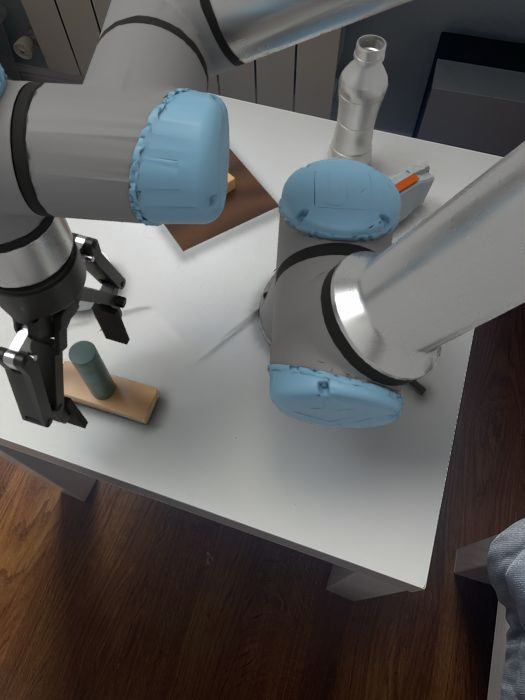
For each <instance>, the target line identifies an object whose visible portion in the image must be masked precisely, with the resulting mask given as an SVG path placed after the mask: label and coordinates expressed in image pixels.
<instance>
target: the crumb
mask: <svg viewBox="0 0 525 700" xmlns="http://www.w3.org/2000/svg"><path fill="white" fill-rule="evenodd" d="M233 189H235V178H234V177H233V176H232V175H231V174H229V173H228V184H227V193H229V192H230V191H232V190H233Z"/></svg>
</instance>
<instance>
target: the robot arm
mask: <svg viewBox="0 0 525 700" xmlns="http://www.w3.org/2000/svg"><path fill="white" fill-rule="evenodd" d="M412 1H413V0H110V4H109V6H108V9H107V12H106V16H105V19H104V21H103V25H102V27H101V32H100V34H99V37H98V40H97V43H96V46H95V49H94V52H93V54H92V57H91V60H90V63H89V65H88V68H87V71H86V73H85V77H84V79H83V82H82V84H79V83H78V84H76V83H57V82H37V81H36V82H35V81H30V80H13V79H8V74H6V73H5V69H4V67H3V66H2V63H0V308H1V310H3V311H4V312H5V313H6V314H7V315H8V316H9V317H11V319H12V324H13V331H14V332H15V336H14V338H13V340H12V341H11V343H10V344H9V346H8V347H4V346H0V367H2V369H4V372H5V374H6V378H7V380H8V382H9V385H10V388H11V391H12V394H13V397H14V399H15V402H16V405H17V408H18V411H19V414H20V417H21V419H22V421H25V422H28V423H31V424H34V425H37V426H40V427H43V428H48V429H49V428H50V427H51V426H52V424H53V421H55V422H57V423H60V424H69V425H72V426H76V427H79V428H82V429H87V426H88V424H89V421H88V420H87V418H86V417H85V415H84V414H83V413H82V411H81V410H80V408H79V407H78V406H77V404H76V402H73V401H72V399H71V398H69V397H66V396H64V379H63V363H64V351H65V350H66V349H67V348H68V328H69V325H70V323H71V320H72V319H73V317H74V316H75V315H76V314H77V312H78V311H77V310H78V309H79V307H80V306H79V302H80V301H86V302H91V303H92V302H94V304H93V306H92V309H91V310H92V312H93V315H94V317H95V319H96V321H97V323H98V325H99V327H100V330H101V332H102V333H103V336H104V338H105V339H106V340H110V341H113V342H115V343H119V344H123V345H128V344H129V342H130V340H131V339H130V336H129V333H128V331H127V328H126V326H125V324H124V321H123V318H122V316H123V312H122V309H124V308H125V307H126V305H127V297H126V296H123V295H119V294H118V293H119V290H124V289H125V287H126V284H127V281H126V280H127V279H126V278H125V277H124V276H123V275H122V274H121V273H120V272H119V270H117V268H116V267H115V266H114V265H113V264H112V262H111V261H110V262H111V263H110V262H109V261H108V260H107V258H106V257H105V256H104V255H103V254H102V252H101V250H102V249H101V246H100V243H99V240H98V238H94V237H91V236H86V235H83V234H79V233H76V232H72V230H71V227H70V225H69V223H68V221H67V219H76V220H88V221H89V220H90V221H103V222H117V223H130V224H143V225H144V226H146V227H148V226H150V227H159V226H162V225H164V224H207V223H210V222H212V221H214V220H215V219H217V218H218V217H219V215H220V214H221V212H222V210H223V208H224V205H225V200H226V194H227V184H228V170H229V148H230V122H229V121H230V120H229V112H228V108H227V105H226V103H225V102H224V100H223V98H222V97H220V96H218V95H216V94H215V93H210V92H208V89H209V83H210V79H212V78H213V77H215V76H218V75H221V74H223V73H226V72H230V71H232V70H234V69H237V68H238V67H240V66H242V65H246V64H248V63H250V62H253V61H256V60H258V59H261V58H263V57H267V56H269V55H272V54H274V53H277V52H280V51H282V50H286V49H288V48H290V47H293V46H296V45H298V44H300V43H304V42H306V41H309V40H312V39H314V38H317V37H319V36H322V35H325V34H327V33H330V32H332V31H336V30H338V29H341V28H344V27H347V26H348V25H351V24H354V23H356V22H359V21H362V20H364V19H367V18H369V17H372V16H376V15H377V14H380V13H383V12H385V11H388V10H391V9H393V8H396V7H399V6H402V5H403V4H407V3H410V2H412ZM277 204H278V207H277V208H278V213H279V217H278V219H279V221H278V232H277V233H278V235H277V249H276V261H275V263H276V264H275V269H274V270H273V275H272V276H271V278H270V279H269V280H268V283H267V284H266V285H265V287H264V289H263V291H262V294H261V296H260V300H259V306H258V322H259V327H260V331H261V333H262V335H263V337H264V339H265V340H266V342H267V343H268V345H269V346H270V356H269V364H268V365H267V372H268V374H269V375H268V376H269V377H268V379H269V381H268V383H269V384H268V386H269V387H268V392H269V398H270V400H271V402H272V404H273V405H274V406H275V407H276V408H277V409H278V410H279V411H280V412H281V413H283V414H285V415H287V416H289V417H290V418H293V419H296V420H298V421H301V422H304V423H308V424H312V425H318V426H323V427H331V428H341V429H366V428H367V429H368V428H376V427H381V426H386V425H389V424H391V423H393V422H395V421H396V420H397V419H398V418H399V417H400V416H401V414H402V408H403V407H402V406H403V404H404V401H405V398H404V397H403V396H402V388H403V387H404V386H406V385H408V384H409V386H411V387H412V388H414V390H416V391H417V392H418V393H419V394H421V396H423V395H424V394H425V393H426V392H427V390H428V388H426V387H425V386H424V385H423V384H422V383H420V382H418V379H421V378H423V377H424V376H426V375H428V373H430V372H431V371H432V370H433V369H434V368H435V366H436V365H437V364H438V361H439V359H440V356H441V352H442V346H444V345H445V344H447V343H449V342H451V341H453V340H455V339H456V338H459V337H461V336H463V335H464V334H466V333H468V332H470V331H472V330H473V329H476V328H478V327H480V326H482V325H484V324H486V323H487V322H489V321H491V320H493V319H496V318H497V317H499V316H501V315H503V314H505V313H507V312H508V311H511V310H512V309H515V308H517V307H519V306H520V305H523V304H524V303H525V140H524V141H523V142H521V143H520V144H518V145H517V146H516V147H515V148H513V149H512V150H510V152H508V153H507V154H506V155H504V156H503V157H502V158H501V159H499V160H498V161H497V162H496V163H494V164H493V165H492V166H491V167H489V168H488V169H487V170H485V171H484V172H482V174H480V175H479V176H478V177H477V178H475V179H474V180H473V181H472V182H470V183H468V184H467V185H466V186H465V187H464V188H462V189H461V190H460V191H458V192H457V193H456V194H454V195H453V196H452V197H450V198H449V199H447V201H445V202H444V203H443V204H442V205H441V206H439V207H438V208H437V209H436V210H434V211H433V212H431V214H429V215H428V216H426V217H425V218H424V219H423V220H422V221H420V222H419V223H417V224H416V225H415V226H414V227H412V228H411V229H410V230H408V232H406V233H405V234H404V235H402V236H401V237H400V238H398V239H397V240H396V241H394V242H393V238H394V233H395V230H396V228H397V227H398V225H399V224H400V222H399V220H400V218H401V216H400V215H401V214H400V210H401V197H400V194H399V191H398V189H397V187H396V186H395V184H394V183H393V182H392V181H391V180H390V177H389V176H387V175H386V174H385V173H384V172H381V171H378V170H376V169H375V168H374V167H373V166H371V165H370V164H369V165H366V164H364V163H360V162H356V161H352V160H344V159H328V158H327V159H320V160H316V161H313V162H309V163H307V164H306V166H303V167H299V168H298V169H297V170H295V171H293V172H292V173H291V174H290V175H289V177H288V178H287V179H286V181H285V182H284V185H283V187H282V191H281V197H280V199H279V200H278V203H277ZM87 273H89V275H91V276H92V277H93V278H94V279H95V280H96V281H97V282H98V283H99V284H100V286H101V285H102V286H101V289H100V290H98V289H97V288H93V287H90V286H85V285H86V281H87ZM98 303H99V304H98Z"/></svg>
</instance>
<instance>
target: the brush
mask: <svg viewBox="0 0 525 700" xmlns="http://www.w3.org/2000/svg"><path fill="white" fill-rule="evenodd" d="M67 355H68V359H69V361H68V360H64V361H63V379H64V396H66V397H69V398H71V399H72V401H73V402H74V403H75V404H79V405H82V406H86V407H89V408H91V409H92V408H93V409H96V410H99V411H101V412H105V413H108V414H110V415H115V416H117V417H121V418H124V419H128V420H131V421H134V422H137V423H139V424H143V425H147V426H148V424H149V421H150V419H151V417H152V415H153V413H154V410H155V409H156V406H157V404H158V401H159V399H160V398H159V396H160V390H159V388H157V387H153V386H149V385H147V384H144V383H140V382H137V381H133V380H130V379H127V378H124V377H120V376H117V375H114V374H111V373H110V372H109V370H108V368H107V365H106V364H105V362H104V360H103V358H102V356H101V354H100V353H99V350H98V349H97V347H96V345H95V344H94V343H93V342H91V341H89V340H80V341H76V342H75V343H74V344H72V345H71V346H70V348H69V350H68V354H67Z"/></svg>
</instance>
